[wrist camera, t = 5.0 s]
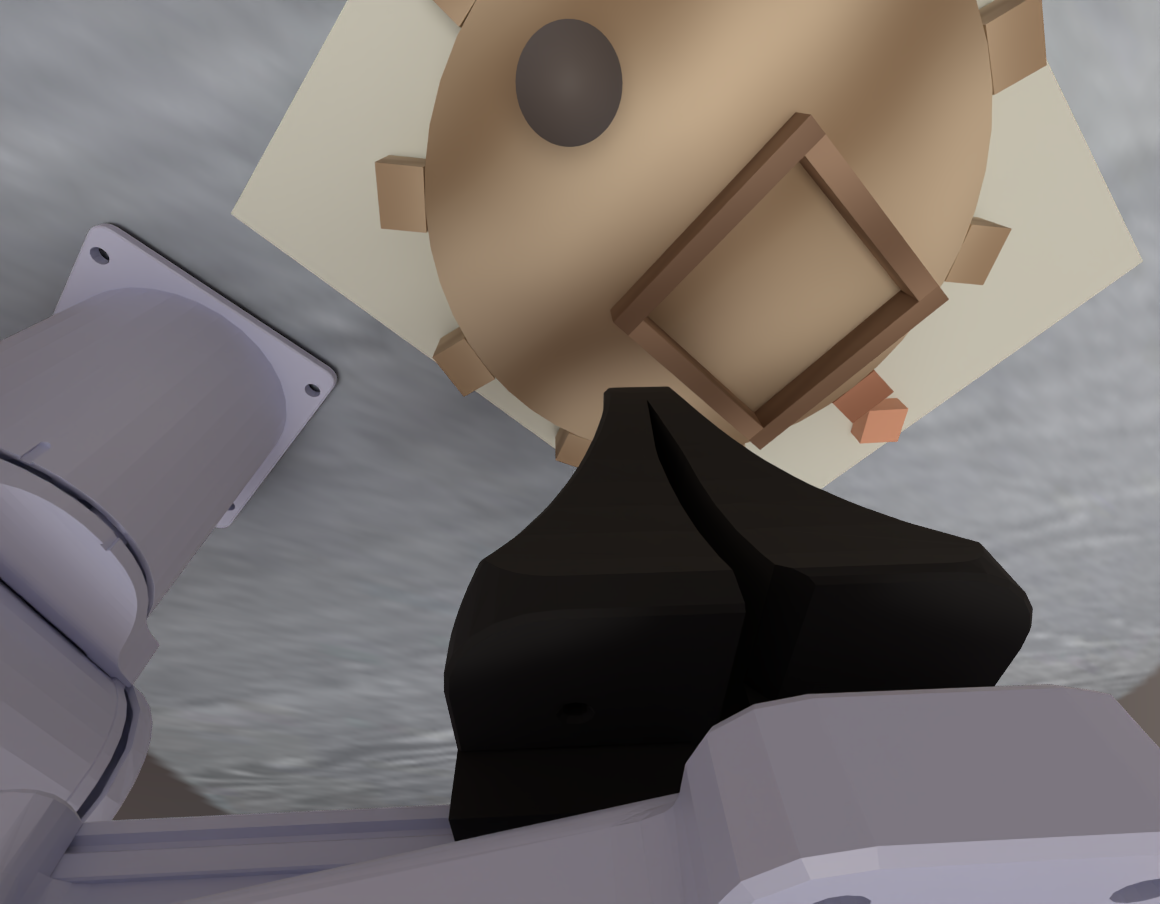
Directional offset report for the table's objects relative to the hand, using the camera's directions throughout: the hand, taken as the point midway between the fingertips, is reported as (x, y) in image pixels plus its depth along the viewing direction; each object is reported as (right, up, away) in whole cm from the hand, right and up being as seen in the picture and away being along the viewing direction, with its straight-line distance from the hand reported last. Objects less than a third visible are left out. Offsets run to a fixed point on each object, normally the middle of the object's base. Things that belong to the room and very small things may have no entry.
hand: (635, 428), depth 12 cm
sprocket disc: (+2, +7, +5) cm, 8 cm away
